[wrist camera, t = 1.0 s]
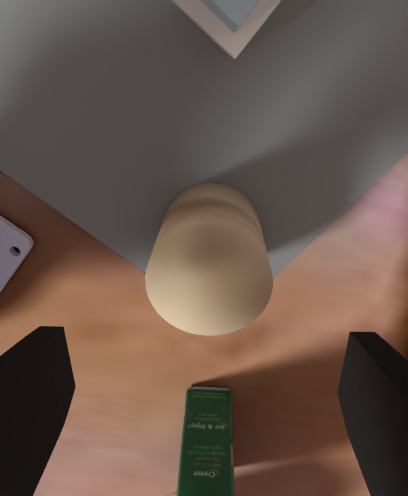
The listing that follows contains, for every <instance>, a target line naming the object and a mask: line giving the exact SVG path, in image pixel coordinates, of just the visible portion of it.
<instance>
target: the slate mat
mask: <svg viewBox="0 0 408 496" xmlns="http://www.w3.org/2000/svg"><path fill="white" fill-rule="evenodd" d="M406 153H408V0H281V1H280V3H279V4H278V5H277V6H276V8H275V9H274V10H273V12H272V13H271V14H270V15H269V17H268V18H267V19H266V20H265V22H264V23H263V24H262V26H261V27H260V28H259V29H258V31H257V32H256V33H255V34H254V36H253V37H252V38H251V40H250V41H249V42H248V43H247V45H246V46H245V47H244V49H243V50H242V51H241V52H240V54H239V55H238V56H237V57H236V59H233V58H232V57H231V56H230V55H229V54H227V53H226V52H225V51H224V50H223V49H222V48H221V47H220V46H219V45H218V44H217V43H216V42H215V41H214V40H213V39H212V38H211V37H210V36H209V35H208V34H206V33H205V32H204V31H203V30H202V29H201V28H200V27H199V26H198V25H197V24H196V23H195V22H194V21H193V20H192V19H191V18H190V17H189V16H188V15H186V14H185V13H184V12H183V11H182V10H181V9H180V8H179V7H178V6H177V5H176V4H175V3H174V2H173V1H172V0H0V171H1V172H3V173H4V174H6V175H7V176H8V177H10V178H11V179H13V180H14V181H15V182H17V183H18V184H20V185H21V186H23V187H24V188H25V189H27V190H28V191H30V192H31V193H32V194H34V195H35V196H37V197H38V198H39V199H41V200H42V201H44V202H45V203H47V204H48V205H49V206H51V207H52V208H54V209H55V210H56V211H58V212H59V213H61V214H62V215H63V216H65V217H66V218H68V219H69V220H71V221H72V222H73V223H75V224H76V225H78V226H79V227H80V228H82V229H83V230H85V231H86V232H87V233H89V234H90V235H92V236H93V237H94V238H96V239H97V240H99V241H100V242H102V243H103V244H104V245H106V246H107V247H109V248H110V249H111V250H113V251H114V252H116V253H117V254H118V255H120V256H121V257H123V258H124V259H126V260H127V261H128V262H130V263H131V264H133V265H134V266H135V267H137V268H138V269H140V270H141V271H142V272H144V273H145V274H146V269H147V265H148V263H149V260H150V257H151V254H152V251H153V248H154V245H155V242H156V239H157V237H158V234H159V231H160V228H161V225H162V222H163V219H164V216H165V214H166V211H167V208H168V207H169V205H170V203H171V202H172V200H173V199H174V198H175V197H176V196H177V195H178V194H179V193H180V192H182V191H183V190H185V189H186V188H188V187H190V186H193V185H196V184H199V183H205V182H217V183H223V184H227V185H230V186H232V187H234V188H236V189H238V190H239V191H241V192H242V193H244V194H245V195H246V196H247V197H248V198H249V200H250V201H251V202H252V203H253V205H254V207H255V209H256V211H257V214H258V217H259V221H260V226H261V230H262V234H263V238H264V242H265V246H266V250H267V254H268V258H269V262H270V267H271V271H272V276H273V277H274V276H275V275H276V274H277V273H278V272H279V271H280V270H281V269H283V268H284V267H285V266H286V265H287V264H288V263H289V262H290V261H291V260H292V259H293V258H294V257H295V256H297V255H298V254H299V253H300V252H301V251H302V250H303V249H304V248H305V247H306V246H307V245H308V244H309V243H311V242H312V241H313V240H314V239H315V238H316V237H317V236H318V235H319V234H320V233H321V232H322V231H323V230H325V229H326V228H327V227H328V226H329V225H330V224H331V223H332V222H333V221H334V220H335V219H336V218H337V217H339V216H340V215H341V214H342V213H343V212H344V211H345V210H346V209H347V208H348V207H349V206H350V205H352V204H353V203H354V202H355V201H356V200H357V199H358V198H359V197H360V196H361V195H362V194H363V193H364V192H366V191H367V190H368V189H369V188H370V187H371V186H372V185H373V184H374V183H375V182H376V181H377V180H378V179H380V178H381V177H382V176H383V175H384V174H385V173H386V172H387V171H388V170H389V169H390V168H391V167H392V166H394V165H395V164H396V163H397V162H398V161H399V160H400V159H401V158H402V157H403V156H404V155H405V154H406Z"/></svg>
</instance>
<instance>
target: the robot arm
mask: <svg viewBox="0 0 408 496" xmlns="http://www.w3.org/2000/svg"><path fill="white" fill-rule="evenodd" d="M13 247H17V248H18V249H19V250H20V252H21V253H19V252H16V251H15V250H14V248H13ZM32 247H33V240H32V238H31V237H30V236H29V235H28V234H27V233H25V232H24V231H23V230H21V229H20V228H18V227H17V226H15V225H14V224H12V223H11V222H9V221H8V220H6V219H5V218H3V217H2V216H0V292H1V291H2V289H3V288H4V286H5V285H6V284H7V282H8V281H9V279H10V278H11V277H12V275H13V274H14V272H15V271H16V269H17V268H18V267H19V265H20V264H21V262H22V261H23V260H24V258H25V257H26V255H27V254H28V253H29V251H30V250H31V248H32ZM75 387H76V386H75V382H74V377H73V372H72V367H71V362H70V357H69V352H68V347H67V342H66V337H65V332H64V327H51V326H40V327H38V328H37V329H35V330H34V331H33V332H31V333H30V334H28V335H27V336H26V337H24V338H23V339H22V340H21V341H19V342H18V343H17V344H15V345H14V346H13V347H11V348H10V349H9V350H8V351H6V352H5V353H4V354H2V355H1V356H0V496H33V494H34V492H35V490H36V487H37V485H38V483H39V481H40V478H41V476H42V474H43V472H44V469H45V467H46V465H47V463H48V461H49V458H50V456H51V454H52V451H53V449H54V447H55V445H56V442H57V440H58V438H59V436H60V433H61V431H62V428H63V426H64V423H65V420H66V417H67V414H68V411H69V408H70V404H71V401H72V397H73V394H74V390H75ZM338 396H339V400H340V404H341V409H342V413H343V417H344V421H345V425H346V429H347V433H348V436H349V438H350V441H351V444H352V447H353V449H354V452H355V455H356V458H357V460H358V463H359V466H360V468H361V471H362V474H363V476H364V479H365V482H366V484H367V487H368V490H369V492H370V495H371V496H408V360H406V359H405V358H404V357H403V356H402V355H401V354H400V353H399V352H397V351H396V350H395V349H394V348H393V347H392V346H391V345H389V344H388V343H387V342H386V341H385V340H384V339H383V338H381V337H380V336H379V335H378V334H376V333H375V332H350V334H349V339H348V344H347V349H346V354H345V359H344V364H343V369H342V374H341V379H340V384H339V389H338Z"/></svg>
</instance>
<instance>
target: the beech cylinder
mask: <svg viewBox="0 0 408 496" xmlns="http://www.w3.org/2000/svg"><path fill="white" fill-rule="evenodd" d="M145 284H146V290H147V294H148V297H149V299H150V302H151V304H152V305H153V307H154V308H155V310H156V311H157V312H158V314H159V315H160V316H161V317H162V318H163V319H165V320H166V321H167V322H169V323H170V324H171V325H173V326H175V327H177V328H179V329H181V330H183V331H186V332H189V333H193V334H197V335H208V336H214V335H223V334H227V333H231V332H234V331H237V330H239V329H241V328H243V327H245V326H247V325H248V324H250V323H251V322H252V321H254V320H255V319H256V318H257V317H258V316H259V315H260V314H261V313H262V311H263V310H264V309H265V307H266V305H267V303H268V302H269V299H270V296H271V293H272V287H273V276H272V271H271V267H270V262H269V258H268V254H267V250H266V246H265V242H264V238H263V234H262V230H261V226H260V221H259V217H258V214H257V211H256V209H255V207H254V205H253V203H252V202H251V201H250V200H249V198H248V197H247V196H246V195H245V194H244V193H242V192H241V191H239V190H238V189H236V188H234V187H232V186H230V185H227V184H223V183H217V182H205V183H199V184H196V185H193V186H190V187H188V188H186V189H185V190H183V191H182V192H180V193H179V194H178V195H177V196H176V197H175V198H174V199H173V200H172V202H171V203H170V205H169V207H168V208H167V211H166V214H165V216H164V219H163V222H162V225H161V228H160V231H159V234H158V237H157V239H156V242H155V245H154V248H153V251H152V254H151V257H150V260H149V263H148V265H147V269H146V275H145Z"/></svg>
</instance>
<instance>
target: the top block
mask: <svg viewBox="0 0 408 496" xmlns="http://www.w3.org/2000/svg"><path fill="white" fill-rule="evenodd" d="M201 1H202V2H203V3H204V4H205V5H206V6H207V7H208V8H209V9H210V10H211V11H212V12H213V13H214V14H215V15H216V16H217V17H218V18H219V19H220V20H221V21H222V22H223V23H224V24H225V25H226V26H227V27H228V28H229V29H230V30H231V31H232V32H233V33H235V32H236V31H237V29H238V28H239V27H240V25H241V24H242V23H243V21H244V20H245V19H246V17H247V16H248V15H249V13H250V12H251V11H252V9H253V8H254V7H255V6H256V4H257V3H258V2H259V0H201Z"/></svg>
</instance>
